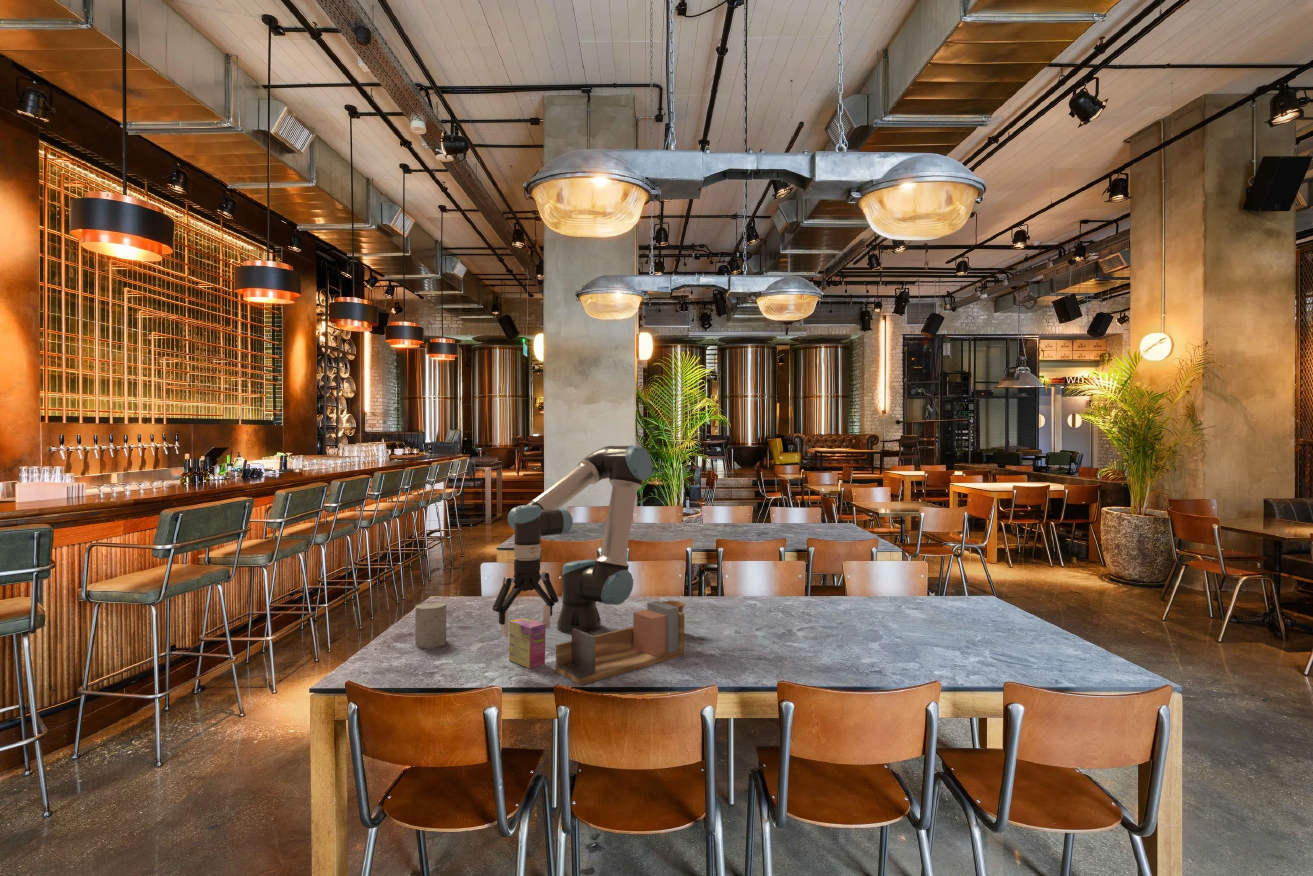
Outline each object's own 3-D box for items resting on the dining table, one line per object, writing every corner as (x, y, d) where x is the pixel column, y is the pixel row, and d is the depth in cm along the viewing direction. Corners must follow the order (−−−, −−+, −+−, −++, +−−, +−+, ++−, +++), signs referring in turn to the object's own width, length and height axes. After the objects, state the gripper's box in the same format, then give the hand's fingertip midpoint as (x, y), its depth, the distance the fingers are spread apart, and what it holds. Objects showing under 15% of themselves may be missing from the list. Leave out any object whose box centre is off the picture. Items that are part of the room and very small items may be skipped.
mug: (661, 630, 215) (661, 600, 215) (686, 631, 213) (686, 601, 213) (654, 640, 203) (654, 609, 203) (680, 642, 201) (680, 610, 201)
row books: (633, 648, 190) (633, 605, 190) (657, 642, 196) (657, 600, 196) (654, 657, 182) (654, 612, 183) (678, 650, 189) (678, 607, 189)
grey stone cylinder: (453, 641, 203) (453, 603, 203) (430, 649, 194) (431, 610, 194) (430, 637, 207) (430, 600, 207) (408, 645, 198) (408, 606, 198)
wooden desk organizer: (555, 671, 175) (555, 626, 175) (656, 644, 199) (656, 605, 199) (581, 685, 165) (581, 637, 165) (684, 655, 189) (684, 613, 189)
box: (545, 664, 181) (545, 623, 181) (529, 669, 177) (529, 627, 177) (524, 656, 188) (524, 616, 188) (508, 660, 184) (508, 620, 184)
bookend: (559, 668, 173) (559, 631, 173) (575, 663, 177) (575, 628, 177) (579, 678, 166) (579, 640, 166) (595, 673, 169) (595, 636, 169)
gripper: (493, 564, 172) (491, 642, 171) (570, 556, 188) (569, 626, 187) (481, 560, 178) (480, 635, 177) (557, 552, 194) (556, 621, 193)
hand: (526, 631), depth 182 cm, fingers open, 13 cm apart
